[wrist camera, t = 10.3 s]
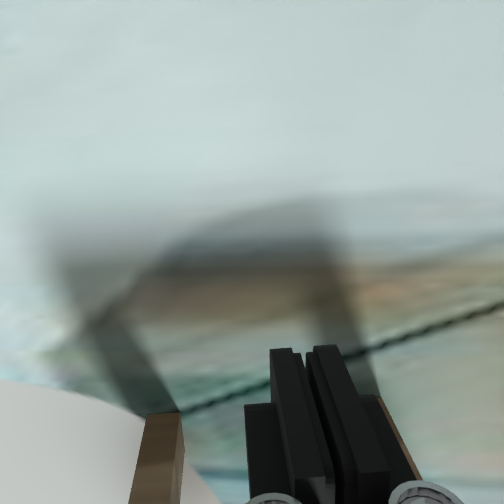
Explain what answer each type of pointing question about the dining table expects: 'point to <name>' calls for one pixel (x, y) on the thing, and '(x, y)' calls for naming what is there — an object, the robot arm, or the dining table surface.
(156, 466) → the bridge
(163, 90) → the dining table surface
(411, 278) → the dining table surface
